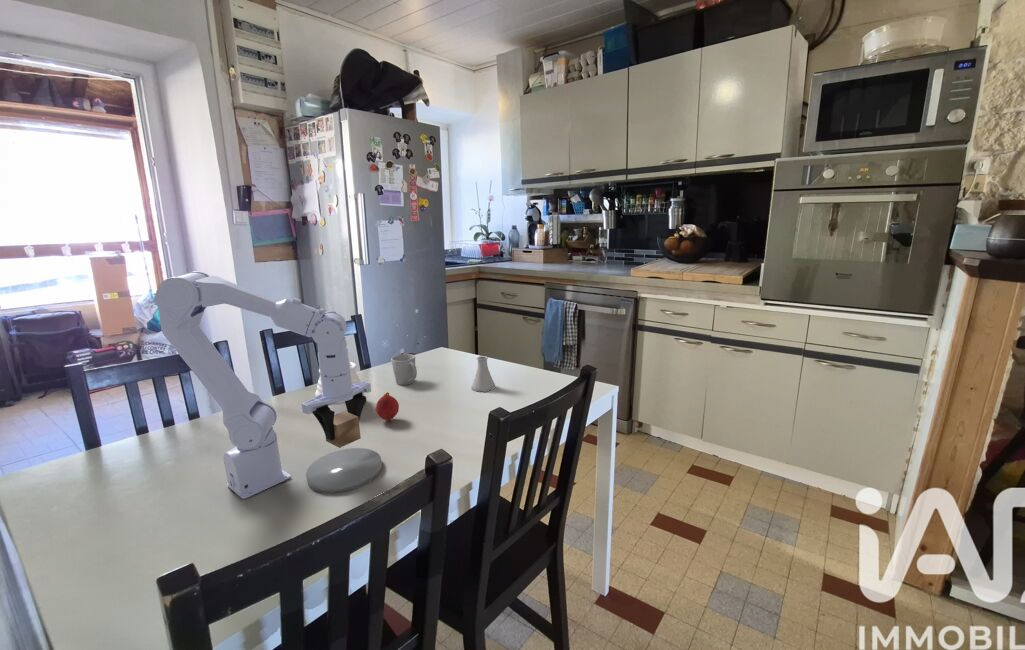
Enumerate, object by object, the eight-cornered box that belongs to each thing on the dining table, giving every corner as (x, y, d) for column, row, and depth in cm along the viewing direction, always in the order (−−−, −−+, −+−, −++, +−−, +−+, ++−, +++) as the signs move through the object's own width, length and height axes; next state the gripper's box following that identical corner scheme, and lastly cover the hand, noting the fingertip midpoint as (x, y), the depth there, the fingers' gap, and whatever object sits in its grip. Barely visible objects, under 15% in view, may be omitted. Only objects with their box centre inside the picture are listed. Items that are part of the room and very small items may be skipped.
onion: (393, 426, 118) (391, 397, 116) (373, 425, 119) (370, 396, 118) (403, 416, 124) (401, 389, 122) (383, 415, 125) (381, 387, 123)
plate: (332, 502, 88) (331, 495, 87) (293, 476, 97) (292, 469, 96) (396, 467, 99) (395, 461, 99) (355, 447, 108) (355, 441, 108)
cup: (408, 376, 154) (406, 352, 152) (426, 383, 148) (424, 358, 146) (388, 383, 149) (386, 358, 147) (406, 390, 142) (404, 364, 140)
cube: (339, 448, 94) (336, 425, 93) (326, 441, 97) (323, 419, 96) (360, 438, 98) (358, 416, 96) (347, 432, 101) (344, 410, 99)
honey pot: (364, 395, 139) (358, 338, 135) (365, 412, 128) (358, 349, 123) (319, 401, 136) (311, 342, 131) (315, 419, 124) (307, 355, 119)
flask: (481, 382, 148) (480, 352, 145) (499, 386, 144) (498, 356, 141) (466, 389, 142) (465, 358, 140) (485, 394, 138) (483, 362, 136)
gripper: (311, 387, 86) (320, 453, 89) (377, 366, 97) (382, 425, 100) (292, 379, 90) (301, 443, 93) (357, 360, 101) (363, 417, 104)
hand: (342, 433), depth 97 cm, fingers closed on cube, 5 cm apart
